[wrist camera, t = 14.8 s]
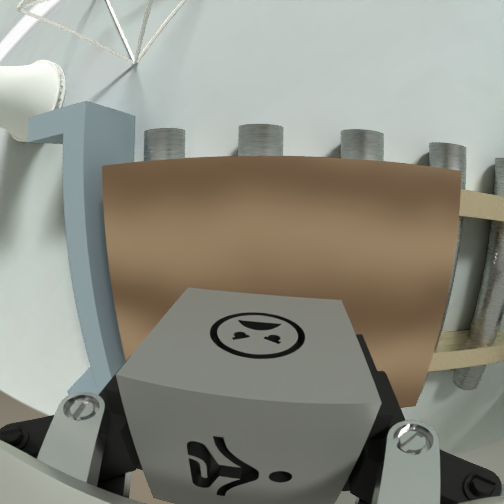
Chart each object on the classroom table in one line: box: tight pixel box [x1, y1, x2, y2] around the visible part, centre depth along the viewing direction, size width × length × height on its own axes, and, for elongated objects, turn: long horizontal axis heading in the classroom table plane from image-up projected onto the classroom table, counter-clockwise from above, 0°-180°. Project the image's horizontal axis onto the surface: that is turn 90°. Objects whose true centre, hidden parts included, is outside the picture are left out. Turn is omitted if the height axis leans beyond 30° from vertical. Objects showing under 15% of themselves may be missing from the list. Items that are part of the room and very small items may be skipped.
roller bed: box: [144, 124, 504, 394], centre depth 18 cm, size 18×30×3 cm, turn 89°
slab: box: [102, 156, 461, 408], centre depth 16 cm, size 14×18×3 cm
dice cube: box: [116, 287, 382, 504], centre depth 8 cm, size 5×5×5 cm
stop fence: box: [27, 101, 135, 395], centre depth 19 cm, size 21×5×6 cm, turn 179°
